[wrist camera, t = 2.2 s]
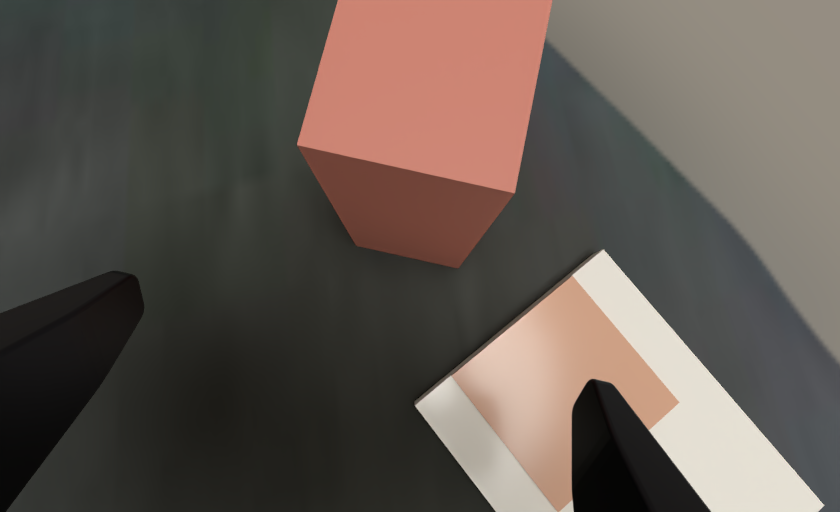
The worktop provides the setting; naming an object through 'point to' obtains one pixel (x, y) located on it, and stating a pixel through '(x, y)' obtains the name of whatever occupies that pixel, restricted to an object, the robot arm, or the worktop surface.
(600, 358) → the board
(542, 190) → the worktop surface
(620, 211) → the worktop surface
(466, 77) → the block
